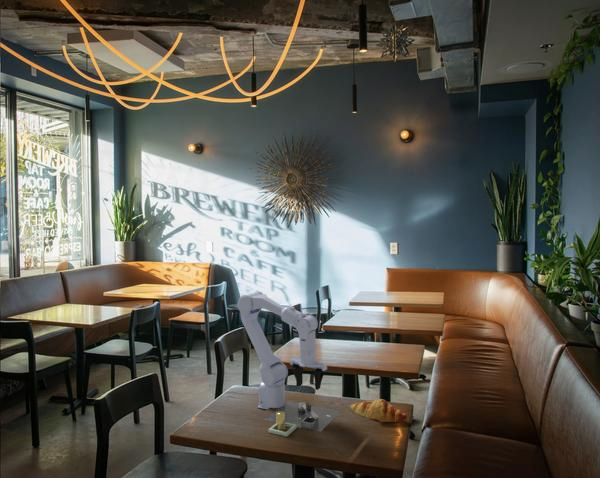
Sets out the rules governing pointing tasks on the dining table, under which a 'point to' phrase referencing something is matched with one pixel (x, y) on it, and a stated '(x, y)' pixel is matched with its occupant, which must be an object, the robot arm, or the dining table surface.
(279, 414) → the olive brown rounded cylinder
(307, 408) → the crank
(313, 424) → the crank plate
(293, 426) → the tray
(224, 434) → the dining table surface
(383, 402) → the croissant
